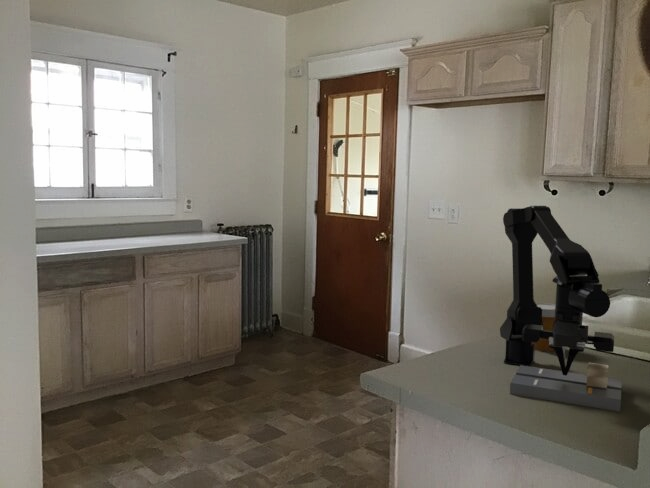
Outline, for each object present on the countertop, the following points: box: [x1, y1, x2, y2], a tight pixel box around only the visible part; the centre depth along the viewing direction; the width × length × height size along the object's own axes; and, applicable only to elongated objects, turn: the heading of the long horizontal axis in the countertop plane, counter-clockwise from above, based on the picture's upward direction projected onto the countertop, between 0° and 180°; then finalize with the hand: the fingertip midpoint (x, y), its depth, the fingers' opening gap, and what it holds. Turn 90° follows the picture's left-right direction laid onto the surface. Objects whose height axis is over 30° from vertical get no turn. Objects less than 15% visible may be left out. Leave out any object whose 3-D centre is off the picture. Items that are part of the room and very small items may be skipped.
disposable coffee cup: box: [533, 302, 556, 352], centre depth 170 cm, size 10×10×12 cm
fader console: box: [509, 365, 623, 412], centre depth 137 cm, size 22×14×3 cm, turn 64°
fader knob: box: [586, 362, 609, 389], centre depth 134 cm, size 4×4×6 cm
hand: (564, 374), depth 137 cm, fingers closed
